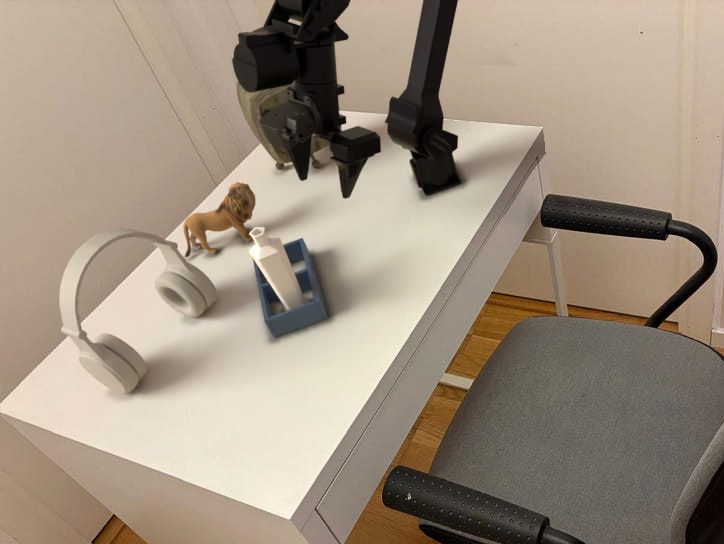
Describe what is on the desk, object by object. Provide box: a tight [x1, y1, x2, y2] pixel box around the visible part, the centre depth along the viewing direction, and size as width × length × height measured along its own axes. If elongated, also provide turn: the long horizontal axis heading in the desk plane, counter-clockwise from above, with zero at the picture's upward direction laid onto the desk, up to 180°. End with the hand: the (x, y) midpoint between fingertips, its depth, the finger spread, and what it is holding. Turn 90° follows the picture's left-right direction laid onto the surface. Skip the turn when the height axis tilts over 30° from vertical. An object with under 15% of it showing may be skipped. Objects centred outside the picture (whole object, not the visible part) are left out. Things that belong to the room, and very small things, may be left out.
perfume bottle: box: [248, 226, 311, 312], centre depth 104 cm, size 5×4×15 cm
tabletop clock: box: [235, 26, 342, 171], centre depth 126 cm, size 14×9×25 cm, turn 120°
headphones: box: [58, 227, 218, 394], centre depth 103 cm, size 20×8×19 cm, turn 152°
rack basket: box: [252, 237, 329, 339], centre depth 111 cm, size 8×16×4 cm, turn 18°
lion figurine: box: [183, 181, 257, 258], centre depth 121 cm, size 15×5×9 cm, turn 116°
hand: (324, 188), depth 108 cm, fingers open, 9 cm apart
